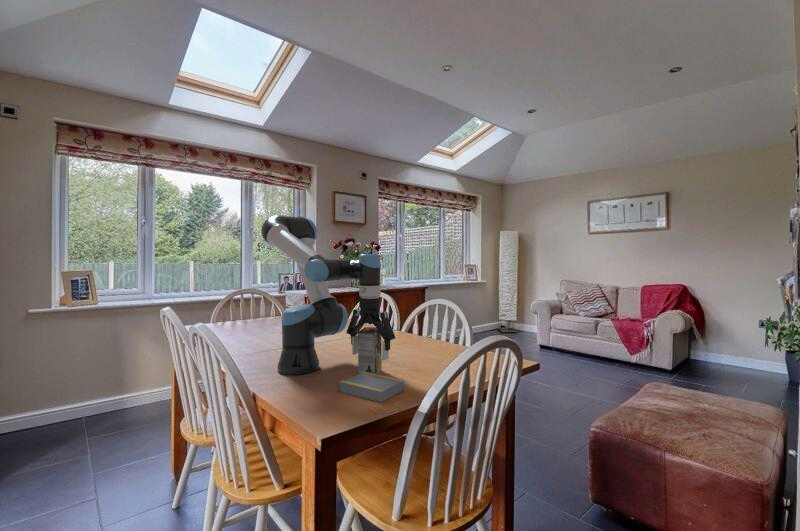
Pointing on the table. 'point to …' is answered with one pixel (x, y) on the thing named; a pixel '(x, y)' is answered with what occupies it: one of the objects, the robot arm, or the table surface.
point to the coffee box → (369, 351)
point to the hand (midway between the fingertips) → (370, 356)
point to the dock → (371, 386)
